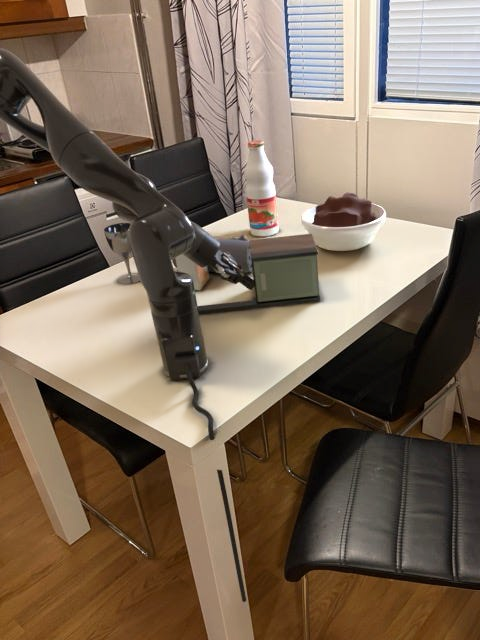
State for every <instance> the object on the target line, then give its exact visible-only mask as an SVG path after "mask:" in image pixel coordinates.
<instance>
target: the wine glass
mask: <svg viewBox="0 0 480 640" xmlns="http://www.w3.org/2000/svg"><path fill="white" fill-rule="evenodd" d="M130 225H131V223H130V222H119V223H114V224H111V225H108V226H106V227H104V229H103V233H104V236H105V239H106V242H107V244H108V246H109V248H110V250H111V251H112V252H113V253H115V254H116V255H118V256H119V257H120V259H122V260H123V262H124V264H125V267H126V270H127V274H125V275H123V276H121V277H120V278H119V279H118V283H119V284H121V285H122V284H123V285H131V284H136V283H138V282H141V281H140V278H139V275H138V273H132V271H131V266H130V257H131V255H132V251H131V247H130V242H129V227H130Z"/></svg>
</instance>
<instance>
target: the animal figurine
mask: <svg viewBox="0 0 480 640" xmlns="http://www.w3.org/2000/svg"><path fill="white" fill-rule="evenodd" d="M229 239H230V240H243V241H249V240H247V237H246V236H245V234H244V233H243V234H241V235H240V236H239V237H237V236H231V238H229Z"/></svg>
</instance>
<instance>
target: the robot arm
mask: <svg viewBox="0 0 480 640" xmlns="http://www.w3.org/2000/svg"><path fill="white" fill-rule="evenodd" d="M31 100H32V101H33V103H34V104H35V107H36V108H37V110H38V113H39V116H40V118H41V121H42V124H43V125H41V124H38V123H36V122H34V121H32V120H30V119H29V118H27V117H26V116H24V115H22V112H23V110H24V109H25V107H27V105H28V104H29V102H30V101H31ZM0 121H1V122H3V123H4V124H6V125H8V126H9V127H11V128H13V130H15V131H16V132H18V133H20V134H21V135H23V136H24V137H25V138H27V139H28V140H29V141H31V142H32V143H34V144H36V145H37V146H39V147H41V148H43V149H44V150H46V151H47V152H49V154H50V155H51V157H52V159H53V161H54V163H55V164H56V165H57V167H59V168H60V170H62V172H64V174H65V175H67V176H68V178H70V179H71V181H73V182H74V183H75V185H77V186H78V187H79V188H81V189H83V190H84V191H86V192H88V193H90V194H92V195H94V196H97V197H99V198H101V199H104V200H106V201H109V202H111V207H112V210H113V212H114V213H115V215H116V216H117V217H118V218H120V219H122V220H123V221H125V222H127V223H131V225H130V227H129V242H130V247H131V251H132V253H131V255H132V257H133V260H134V265H135V267H136V272H137V274H138V275H139V278H140V281H139V282H140V283H141V285H142V287H143V288H144V290H145V293H146V296H147V300H148V304H149V309H150V314H151V318H152V323H153V328H154V331H155V335H156V340H157V344H158V348H159V354H160V357H161V361H162V368H163V372H164V374H165V376H166V377H169V380H170V381H180V380H187V381H188V384H189V385H190V387H191V389H192V391H193V398H192V400H191V404H192V407H193V408H194V409H195V410H196V411H197V412H199V413H200V414H202V415H204V416H205V417H206V418H207V432H208V436H209V440H210V441H214V440H215V439H216V437H215V433H214V418H213V416H212V414H211V412H209V411H208V410H207V409H205V408H203V407H202V406H200V405H199V404H198V399H199V390H198V387H197V385H196V383H195V381H194V379H197V378H201V375H202V374H203V373H204V372H205V371H207V369H208V368H209V364H210V363H209V359H208V356H207V351H206V345H205V339H204V333H203V329H202V322H201V318H200V317H201V316H200V314H199V311H198V306H199V305H198V300H197V294H196V290H195V288H194V282H193V279H192V277H191V276H190V275H189V274H187V273H184V272H178V270H175V269H174V264H173V262H172V259H174V258H176V257H178V256H180V255H182V254H183V255H185V256H186V257H187V258H189V259H190V260H192V261H193V262H194V263H196V264H197V265H198V266H200V267H201V268H204V267H206V266H207V265H211V266H212V267H213V269H214V270H215V271H216V272H215V273H217V274H220V275H219V278H220V279H221V280H223V281H225V282H228V283H230V284H235V285H237V284H238V283H240V284H241V285H242V286H243V287H245V288H246V289H248V290H249V291H252V290H253V289H255V288H254V287H255V285H256V282H255V281H254V280H253V277H251V276H249V275H248V274H247V273H246V272H244V271H243V270H242V267H241V266H240V265H239V264H238V263H237V261H236V260H235V259H234V258H233V257H232V256H231V255H230V254H229V252H227V251H226V252H221V251H220V250H219V248H220V241H218V240H217V239H218V238H216V237H215V236H213V235H212V234H211V233H209V232H208V231H206V230H205V229H204V228H202V227H201V226H200V225H199V224H197V223H195V222H194V221H192V220H190V219H189V217H188V216H187V215H186V214H185V213H184V211H182V210H181V208H179V207H178V206H177V205H176V204H175V203H174V202H172V201H171V200H170V199H168V198H167V197H165V196H164V195H163V194H162V193H160V192H159V191H158V190H157V187H156V185H155V184H154V182H153V181H152V180H151V179H150V178H148V177H146V176H144V175H143V174H140V173H138V172H136V171H135V170H133V169H132V168H131V167H130V166H129V165H128V164H126V162H125V161H123V160H122V159H121V158H120V157H119V156H118V155H117V154H116V153H115V151H113V150H112V149H111V147H110V146H108V144H106V142H104V141H103V140H102V139H101V138H100V137H99V136H98V135H97V134H96V133H95V132H94V131H93V130H92V129H90V128H89V126H87V125H86V124H85V123H84V122H83V121H81V120H80V119H79V118H78V117H77V116H76V115H75V114H74V113H73V112H72V111H70V110H69V109H68V108H67V107H66V105H64V104H63V103H62V101H60V100H59V99H58V97H56V95H55V94H54V93H53V92H52V91H51V90H50V88H48V87H47V86H46V84H45V83H44V82H43V81H42V80H40V78H39V77H38V76H37V74H35V73H34V71H33V70H32V69H31V68H30V67H28V65H27V64H26V63H25V62H24V61H22V60H21V59H20V58H19V57H18V56H17V55H15V53H13V52H11V51H9V50H7V49H5V48H2V47H1V48H0ZM216 473H217V477H218V482H219V487H220V492H221V496H222V502H223V507H224V512H225V513H224V514H225V518H226V522H227V527H228V528H227V529H228V533H229V538H230V544H231V549H232V554H233V560H234V565H235V570H236V571H235V572H236V575H237V580H238V587H239V591H240V597H241V600H242V602H243V603H246V602H247V596H246V591H245V585H244V580H243V574H242V568H241V563H240V558H239V553H238V547H237V546H238V545H237V542H236V536H235V530H234V525H233V520H232V514H231V508H230V504H229V499H228V493H227V488H226V484H225V478H224V473H223V469H216Z"/></svg>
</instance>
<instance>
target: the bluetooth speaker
mask: <svg viewBox="0 0 480 640" xmlns="http://www.w3.org/2000/svg"><path fill="white" fill-rule="evenodd" d="M216 239H217V240H218V241H220V248H219V250H220V251H221V252H226V251H227V252H229V254H230V255H231V256H232V257H233V258H234V259H235V260H236V261H237V263H238V264H239V265H240V266H241V267H242V270H243V271H244V273H253V271H252V263H251V254H250V243H249V240H248V241H243V240H230V238H216ZM171 261H172V265H173V267H175V268H176V269H177V264H176V259H175V258H174V259H172V260H171ZM207 267H208V273H217V272H216V271H215V270H214V269H213V267H212V266H211V265H207Z"/></svg>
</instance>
